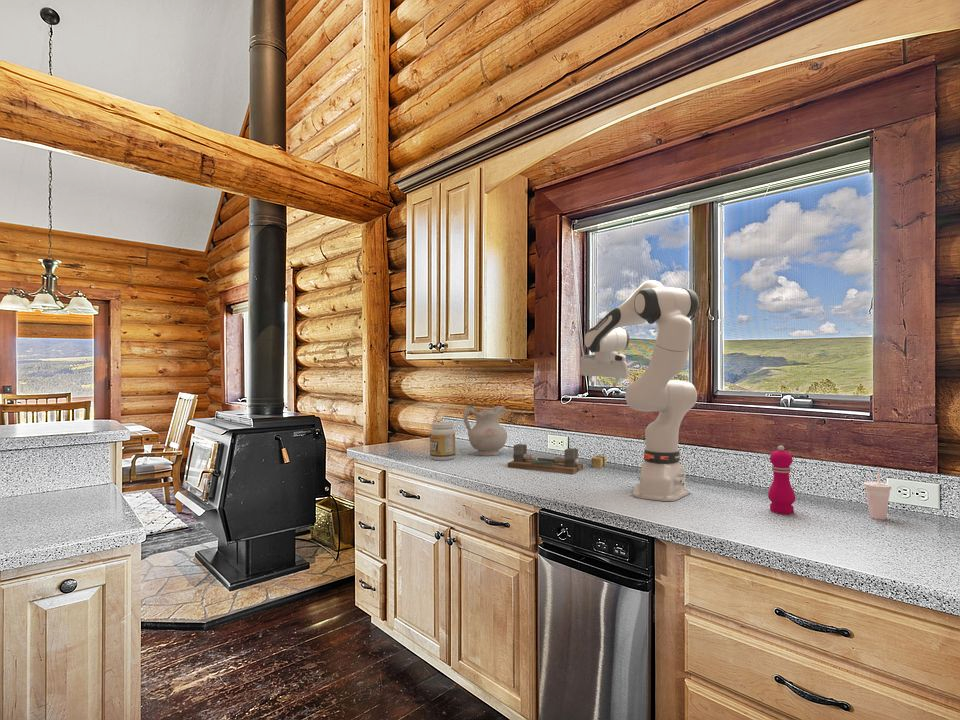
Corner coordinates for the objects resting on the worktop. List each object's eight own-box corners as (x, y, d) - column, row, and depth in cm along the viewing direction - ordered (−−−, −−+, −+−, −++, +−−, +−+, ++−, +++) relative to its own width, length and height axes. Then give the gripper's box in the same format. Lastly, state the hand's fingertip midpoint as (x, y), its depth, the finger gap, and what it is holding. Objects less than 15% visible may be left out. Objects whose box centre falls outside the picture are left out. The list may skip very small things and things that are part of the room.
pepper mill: (763, 507, 162) (762, 443, 162) (787, 507, 162) (786, 443, 162) (776, 514, 155) (775, 447, 155) (800, 514, 155) (799, 447, 155)
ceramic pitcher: (472, 461, 248) (474, 409, 246) (457, 451, 266) (458, 403, 264) (513, 457, 257) (514, 407, 255) (495, 448, 274) (497, 401, 273)
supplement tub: (424, 458, 250) (424, 423, 250) (444, 455, 258) (444, 421, 258) (440, 462, 241) (440, 425, 241) (460, 458, 249) (460, 423, 249)
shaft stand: (572, 474, 212) (572, 452, 212) (508, 467, 228) (507, 446, 228) (583, 468, 223) (583, 447, 223) (520, 462, 238) (520, 442, 238)
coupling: (606, 464, 231) (606, 455, 231) (600, 468, 224) (600, 458, 224) (597, 464, 233) (597, 455, 233) (591, 467, 226) (591, 458, 226)
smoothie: (897, 519, 149) (897, 470, 149) (880, 521, 147) (880, 472, 147) (874, 513, 155) (874, 466, 155) (858, 515, 153) (858, 467, 153)
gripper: (579, 355, 227) (578, 386, 229) (628, 357, 221) (627, 389, 224) (581, 353, 233) (579, 383, 235) (628, 355, 227) (627, 386, 230)
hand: (603, 386), depth 229 cm, fingers open, 8 cm apart
